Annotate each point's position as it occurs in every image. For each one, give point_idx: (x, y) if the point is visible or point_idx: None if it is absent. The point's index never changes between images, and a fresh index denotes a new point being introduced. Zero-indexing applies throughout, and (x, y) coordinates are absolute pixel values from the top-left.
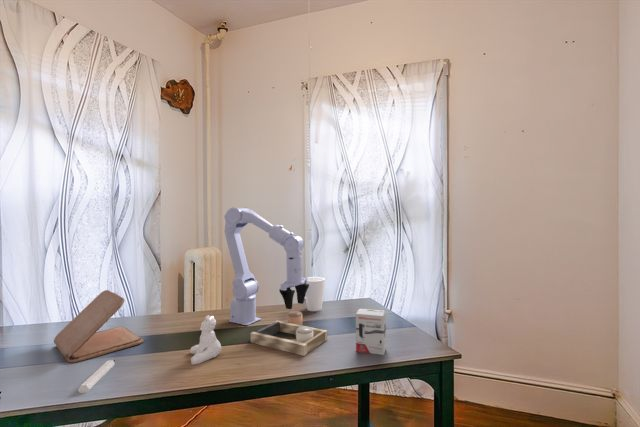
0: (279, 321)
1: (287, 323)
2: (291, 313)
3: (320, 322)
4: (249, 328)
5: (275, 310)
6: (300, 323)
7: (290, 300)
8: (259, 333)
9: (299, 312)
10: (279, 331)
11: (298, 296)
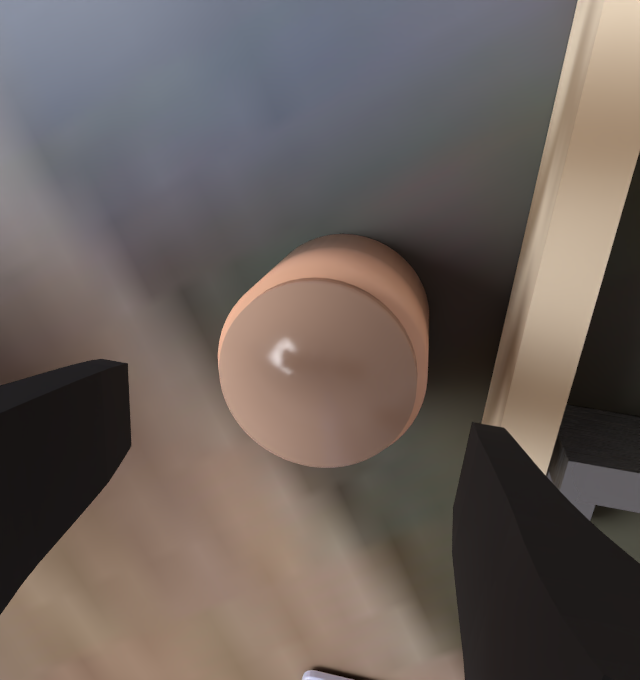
0: None
1: (548, 359)
2: (344, 419)
3: (96, 99)
4: None
5: (49, 641)
6: (361, 249)
7: (597, 536)
8: None
9: (256, 335)
10: None
11: (52, 512)
